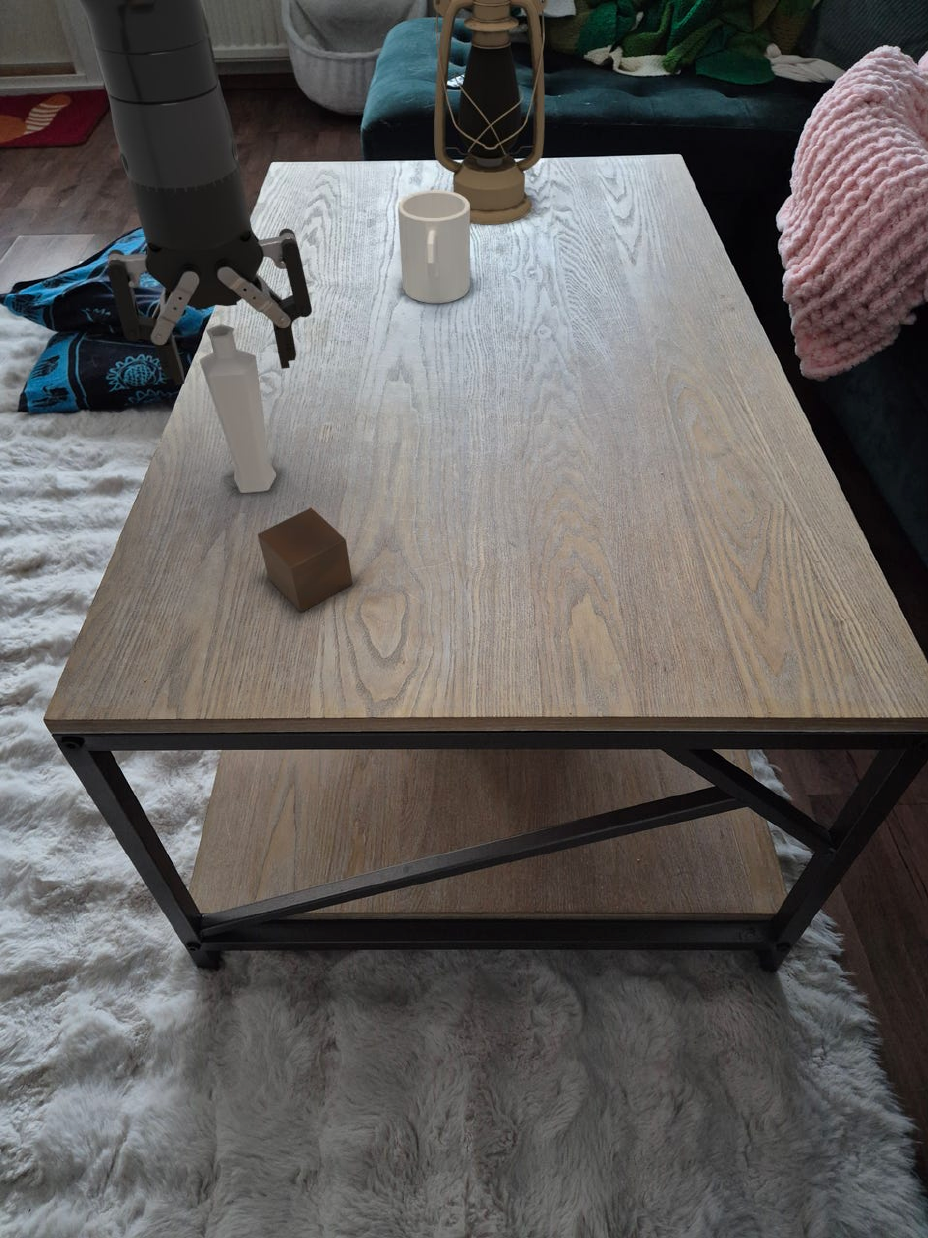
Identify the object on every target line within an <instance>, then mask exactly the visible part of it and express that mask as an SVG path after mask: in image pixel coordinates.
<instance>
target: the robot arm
mask: <svg viewBox="0 0 928 1238" xmlns="http://www.w3.org/2000/svg"><path fill="white" fill-rule="evenodd" d="M77 1H78V3H79V5H80V7H81V9H82V10H83V13H84V15H85V17H86V20H87V23H88V27H89V32H90V36H91V41H92V43H93V47H94V51H95V54H96V58H97V62H98V65H99V68H100V72H101V76H102V79H103V82H104V83H103V84H104V86H105V90H106V92H107V96H108V101H109V105H110V111H111V113H110V114H111V118H112V125H113V129H114V130H113V131H114V134H115V139H116V142H117V146H118V149H119V158H120V159H119V160H120V162H121V166H122V167H123V169H124V171H125V174H126V177H127V180H128V183H129V184H128V185H129V188H130V190H131V195H132V197H133V201H134V204H135V207H136V211H137V214H138V218H139V222H140V226H141V229H142V232H143V235H144V239H145V243H146V249H145V253H139V254H138V253H137V254H136V253H135V254H125V253H124V252H123V251H122V250H120V249H115V248H114V249H112V250H110V251H109V253H108V255H107V275H108V279H109V283H110V287H111V289H112V293H113V299H114V302H115V306H116V309H117V314H118V317H119V321H120V325H121V329H122V332H123V335H124V338H125V339H127V340H128V341H130V342H136V341H138V340H144V341H148V342H150V343H151V344H152V345H153V346H154V349H155V352H156V355H157V358H158V362H159V365H160V368H161V371H162V374H163V376H164V377H165V378H166V379H167V380H171V379H172V380H173V382H174V385H175V386H177V385H184V384H185V373H184V368H183V365H182V361H181V357H180V354H179V350H178V347H177V343H176V339H175V336H174V333H173V330H174V328H175V326H176V325H177V324H178V323H179V321H180V320H181V317H182V315H183V314H184V311H185V310H186V307H187V306H188V307H190V308H194V309H195V311H202V310H208V309H210V308H212V307H215V306H221V307H231V306H237V305H238V303H239V302H240V301H241V300H243V301H245V302H246V303H247V304H248V305H249V306H250V307H252V309H254V310H255V311H256V312H258V313H261V314H263V315H264V316H265V317H266V318H267V319H268V320H270V321H271V322H272V328H273V332H274V333H273V334H274V338H275V344H276V348H277V353H278V358H279V363H280V368H281V370H284V369H290V368H291V367H290V366H291V365H290V362H292V361H296V358H297V351H296V345H295V339H294V335H293V328H292V326H293V323H294V321H296V320H297V319H299V318H308V317H310V316H311V315H312V313H313V308H312V303H311V299H310V298H311V297H310V293H309V289H308V284H307V280H306V275H305V270H304V266H303V261H302V258H301V257H302V256H301V254H300V248H299V244H298V241H297V237H296V233H295V232H294V231H293V230H292V229H290V228H284V229H281V230H280V231H279V234H278V236H273V237H268V238H267V237H266V238H263V239H259V237H258V236H257V235H256V234H255V232H254V230H253V228H252V223H251V222H252V221H251V217H250V212H249V207H248V202H247V197H246V191H245V186H244V181H243V176H242V169H241V165H240V161H239V150H238V145H237V143H236V139H235V134H234V130H233V129H234V128H233V124H232V121H231V116H230V113H229V110H228V107H227V103H226V101H225V98H224V95H223V91H222V87H221V83H220V79H219V75H218V70H217V64H216V59H215V53H214V49H213V45H212V39H211V35H210V28H209V22H208V17H207V14H206V9H205V4H204V1H203V0H77ZM264 258H269V259H271V260H272V262H273V263H274V266H275V267H276V268H278V269H280V270H286V273H287V277H288V281H289V285H290V291H291V295H289V296H287V297H284V298H282V297H281V296H280V295H279V294H278V293H276V292H275V291H274V290H273V289H272V287H270V286H269V285H268V283H267V282H266V280H265V279H263V277H261V276H260V275H259V274H258V272H259V270H260V268H261V266H262V264H263V262H264ZM145 273H148V274H149V276H151V277H152V279H154V280H155V281H156V282H157V283H159V284H160V285H161V286H162V287H163V288H162V291H161V294H160V296H159V300H158V302H157V305H156V307H155V308H154V311H153V314H152V315H151V316H146V315H141V314H140V309H139V305H138V302H137V297H136V294H135V289H137V288H138V287H139V286H140V284H141V277H142V275H143V274H145Z"/></svg>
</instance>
